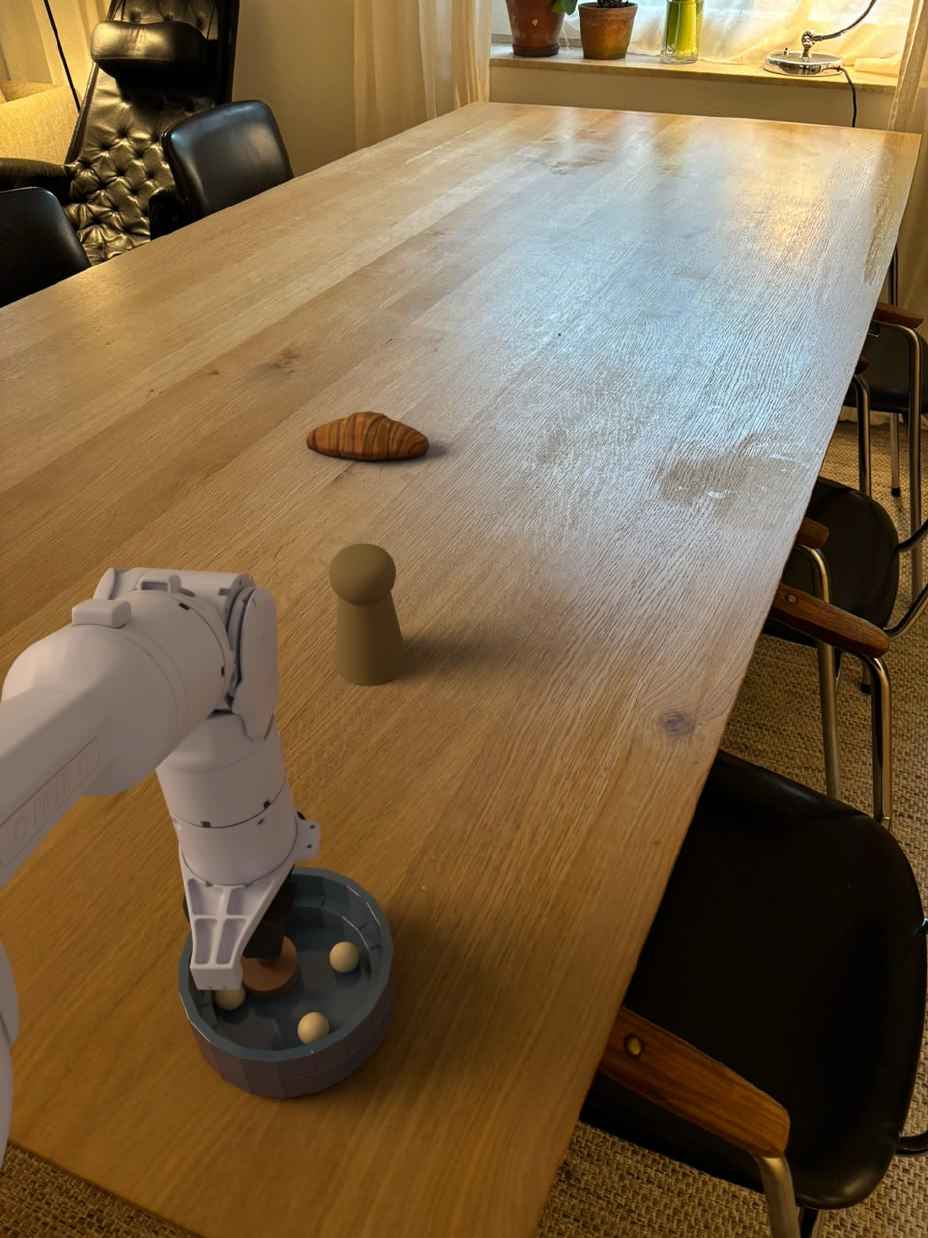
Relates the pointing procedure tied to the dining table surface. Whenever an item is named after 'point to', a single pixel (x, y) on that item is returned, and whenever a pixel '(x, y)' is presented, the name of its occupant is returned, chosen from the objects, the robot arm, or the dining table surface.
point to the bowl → (304, 997)
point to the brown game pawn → (366, 616)
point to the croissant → (367, 438)
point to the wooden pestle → (271, 973)
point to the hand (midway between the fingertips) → (265, 936)
